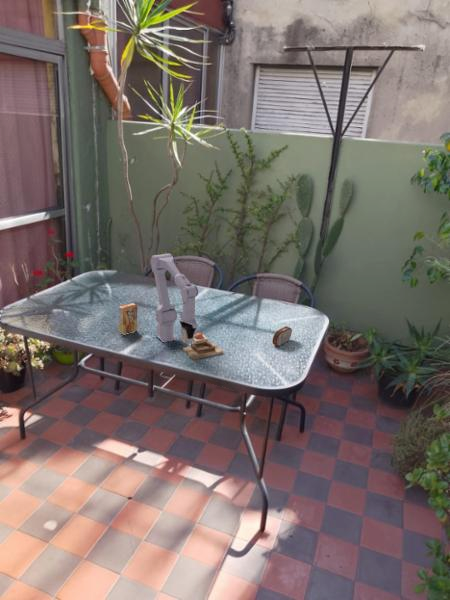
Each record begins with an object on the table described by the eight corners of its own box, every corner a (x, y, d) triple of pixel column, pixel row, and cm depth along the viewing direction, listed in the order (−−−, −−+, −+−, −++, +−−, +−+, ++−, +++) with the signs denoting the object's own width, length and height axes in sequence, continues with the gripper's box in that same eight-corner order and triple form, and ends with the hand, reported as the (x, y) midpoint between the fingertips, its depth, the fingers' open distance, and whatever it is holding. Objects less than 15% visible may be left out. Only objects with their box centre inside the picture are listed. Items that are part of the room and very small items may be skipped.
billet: (181, 339, 217) (181, 326, 214) (190, 338, 219) (190, 324, 217) (184, 343, 213) (184, 329, 211) (194, 341, 216) (194, 327, 213)
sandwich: (286, 338, 241) (288, 323, 238) (292, 340, 239) (293, 325, 236) (271, 347, 230) (272, 331, 227) (276, 348, 228) (278, 333, 225)
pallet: (182, 349, 221) (182, 343, 220) (211, 343, 229) (211, 338, 228) (194, 359, 211) (194, 353, 210) (223, 353, 219) (223, 347, 218)
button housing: (189, 341, 231) (189, 335, 230) (201, 338, 234) (201, 333, 233) (195, 346, 225) (196, 341, 224) (208, 344, 229) (208, 338, 228)
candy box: (132, 329, 241) (132, 302, 236) (137, 332, 238) (137, 304, 233) (119, 333, 235) (118, 306, 229) (123, 336, 232) (123, 308, 227)
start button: (194, 339, 230) (194, 333, 229) (200, 338, 232) (200, 332, 230) (197, 342, 227) (197, 335, 226) (203, 341, 229) (203, 334, 228)
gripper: (174, 306, 215) (174, 332, 219) (188, 316, 203) (187, 343, 208) (187, 304, 218) (187, 330, 223) (201, 314, 207) (200, 341, 211)
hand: (188, 336), depth 216 cm, fingers closed on billet, 4 cm apart
